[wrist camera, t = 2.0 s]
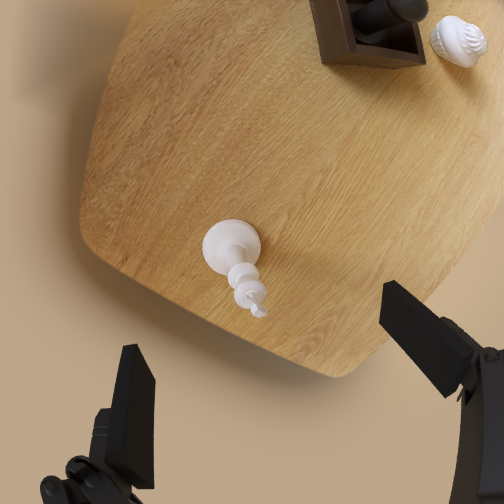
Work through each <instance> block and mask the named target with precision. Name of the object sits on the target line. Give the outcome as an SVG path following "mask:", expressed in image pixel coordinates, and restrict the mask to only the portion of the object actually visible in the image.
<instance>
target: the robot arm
mask: <svg viewBox="0 0 504 504" xmlns="http://www.w3.org/2000/svg"><path fill="white" fill-rule="evenodd" d="M379 324H380V325H381V326H382V327H383V328H384V329H385V330H386V331H387V332H388V333H389V335H390V336H391V337H392V338H393V339H394V340H395V341H396V342H397V343H398V344H399V346H400V347H401V348H402V349H403V350H404V351H405V352H406V354H407V355H408V356H409V357H410V358H411V359H412V360H413V362H414V363H415V364H416V365H417V366H418V367H419V368H420V370H421V371H422V372H423V373H424V374H425V375H426V376H427V378H428V379H429V380H430V381H431V382H432V384H433V385H434V386H435V387H436V388H437V390H439V392H440V393H441V394H442V395H443V397H444V398H446V397H448V396H450V395H451V394H453V393H454V392H455V391H456V390H457V388H458V386H459V384H460V383H461V384H462V386H463V388H462V390H461V392H460V394H459V396H458V398H457V402H458V401H459V399H460V398H461V396H462V400H461V424H460V437H459V447H458V455H457V463H456V470H455V475H454V481H453V486H452V491H451V496H450V501H449V504H504V349H503V350H499V351H498V350H496V349H495V348H492V347H485V348H483V347H481V346H480V345H479V344H478V343H477V342H476V341H475V340H474V339H473V338H471V337H470V336H469V335H468V334H467V333H466V332H464V330H463V329H461V328H460V327H458V325H457V324H456V323H455V322H453V321H452V320H450V319H448V318H446V317H441V318H439V317H438V316H436V315H435V314H434V313H433V312H432V311H431V310H430V309H428V308H427V307H426V306H425V305H424V304H423V303H421V302H420V301H419V300H418V299H417V298H415V297H414V296H413V295H412V294H411V293H409V292H408V291H407V290H406V289H405V288H403V287H402V286H401V285H400V284H398V283H397V282H396V281H395V280H393V281H390V282H387V283H384V284H383V293H382V302H381V311H380V318H379ZM155 382H156V381H155V378H154V376H153V375H152V373H151V371H150V369H149V367H148V365H147V363H146V361H145V360H144V357H143V355H142V353H141V351H140V349H139V347H138V345H137V344H132V345H126V346H123V349H122V354H121V359H120V363H119V368H118V373H117V378H116V383H115V389H114V394H113V400H112V405H111V408H106V409H100V411H99V412H98V414H97V416H96V418H95V423H94V429H93V433H92V435H93V437H92V440H91V446H90V453H89V458H88V457H85V456H75V457H73V458H72V459H71V460H70V461H69V462H68V463H67V466H66V475H67V478H68V479H66V480H61V479H59V478H58V477H56V476H53V475H52V476H47V477H45V478H44V479H43V480H42V482H41V485H40V492H41V496H42V500H43V503H44V504H143V503H142V502H141V501H140V500H139V499H138V498H137V497H136V495H135V494H134V493H132V485H133V486H134V487H135V488H137V489H154V404H155Z"/></svg>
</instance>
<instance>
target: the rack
mask: <svg viewBox="0 0 504 504" xmlns="http://www.w3.org/2000/svg"><path fill="white" fill-rule="evenodd" d="M373 1H375V0H309V2H310V6H311V10H312V15H313V19H314V24H315V29H316V34H317V39H318V44H319V49H320V55H321V60H322V63H323V64H344V65H358V66H369V67H379V68H387V69H394V70H395V69H401V68H407V67H413V66H419V65H426V60H425V55H424V50H423V45H422V40H421V36H420V31H419V27H418V23H408V22H405V23H402V24H399V25H396V26H393V27H390V28H388V29H385V30H384V35H383V38H382V39H381V41H379V42H378V43H376V44H373V45H370V46H369V45H361V44H356V41H355V36H354V32H353V27H352V23H351V18H350V14H349V10H348V6H347V4H348V3H352V2H358V3H362V4H365V5H367V4H369V3H371V2H373Z"/></svg>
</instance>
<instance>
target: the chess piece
mask: <svg viewBox="0 0 504 504" xmlns="http://www.w3.org/2000/svg"><path fill="white" fill-rule="evenodd" d="M202 250H203V255H204V258H205V260H206V262H207V263H208V265H209V266H210V267H211V268H212V269H213V270H214V271H216V272H217V273H220V274H222V275H228V282H229V284H230V286H231V287H232V288H234V289H235V292H234V299H235V302H236V303H237V304H238V305H239V306H240V307H242V308H245V309H251V312H252V314H253V315H254V316H255V317H257V318H260V316H263V317H264V316H265V315H266V314H267V313H268V312H269V311H268V309H267V307H265V306H263V305H262V303H263V302H264V301H265V299H266V296H267V290H266V287H265V286H264V284H263V283H262V282H260V281H259V280H258V279H259V272H258V270H257V268H256V267H255V266H254V264H255V263H256V262H257V260H258V258H259V255H260V251H261V244H260V239H259V236H258V234H257V232H256V230H255V229H254V228H253V227H252V226H251V225H250V224H248V223H247V222H245V221H242V220H238V219H228V220H224V221H221V222H219V223H217V224H215V225H214V226H213V227H212V228H211V229H210V230H209V231H208V232H207V234H206V235H205V238H204V240H203V246H202Z"/></svg>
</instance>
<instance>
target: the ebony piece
mask: <svg viewBox="0 0 504 504" xmlns="http://www.w3.org/2000/svg"><path fill="white" fill-rule="evenodd" d="M347 6H348V10H349V14H350V18H351V23H352V27H353V32H354V36H355V41H356V44H361V45H369V46H370V45H373V44H376V43H378V42H379V41H381V39H382V38H383V35H384V30H385V29H388V28H390V27H393V26H396V25H399V24H402V23H405V22H408V23H417V22H420V21H422V20H424V19H425V18H426V16H427V15H428V11H429V6H428V2H427V0H375V1H373V2H371V3H369V4H367V5H365V4H362V3H358V2H352V3H348V4H347Z"/></svg>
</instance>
